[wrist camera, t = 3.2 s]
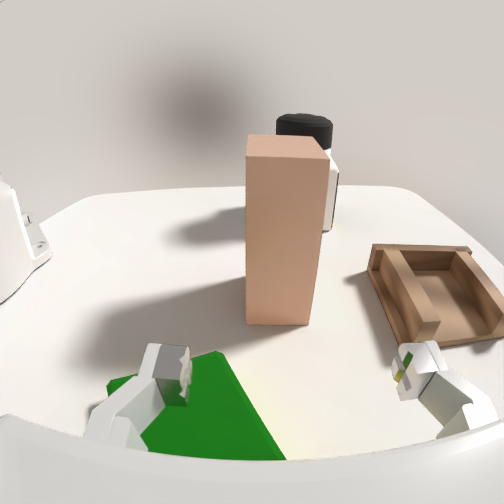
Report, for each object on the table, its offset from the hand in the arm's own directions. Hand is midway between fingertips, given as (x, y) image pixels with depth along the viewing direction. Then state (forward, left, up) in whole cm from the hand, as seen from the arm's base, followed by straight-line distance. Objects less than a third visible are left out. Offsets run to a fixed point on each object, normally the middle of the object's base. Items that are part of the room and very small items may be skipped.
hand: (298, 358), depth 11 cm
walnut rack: (-1, +18, -7) cm, 19 cm away
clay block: (-10, +7, -7) cm, 14 cm away
